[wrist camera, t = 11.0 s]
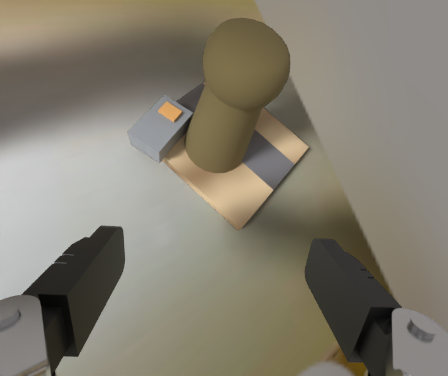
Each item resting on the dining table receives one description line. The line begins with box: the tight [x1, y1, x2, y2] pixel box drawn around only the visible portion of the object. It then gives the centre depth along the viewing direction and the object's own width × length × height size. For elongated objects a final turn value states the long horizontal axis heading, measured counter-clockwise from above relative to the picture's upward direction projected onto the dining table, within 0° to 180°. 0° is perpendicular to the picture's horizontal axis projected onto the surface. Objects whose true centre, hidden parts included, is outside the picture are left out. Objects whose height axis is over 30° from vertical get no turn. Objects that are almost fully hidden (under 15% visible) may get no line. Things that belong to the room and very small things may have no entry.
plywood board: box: [162, 81, 309, 230], centre depth 23 cm, size 13×12×1 cm
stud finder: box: [128, 95, 193, 163], centre depth 20 cm, size 3×5×2 cm, turn 149°
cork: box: [184, 18, 290, 173], centre depth 17 cm, size 6×6×11 cm
